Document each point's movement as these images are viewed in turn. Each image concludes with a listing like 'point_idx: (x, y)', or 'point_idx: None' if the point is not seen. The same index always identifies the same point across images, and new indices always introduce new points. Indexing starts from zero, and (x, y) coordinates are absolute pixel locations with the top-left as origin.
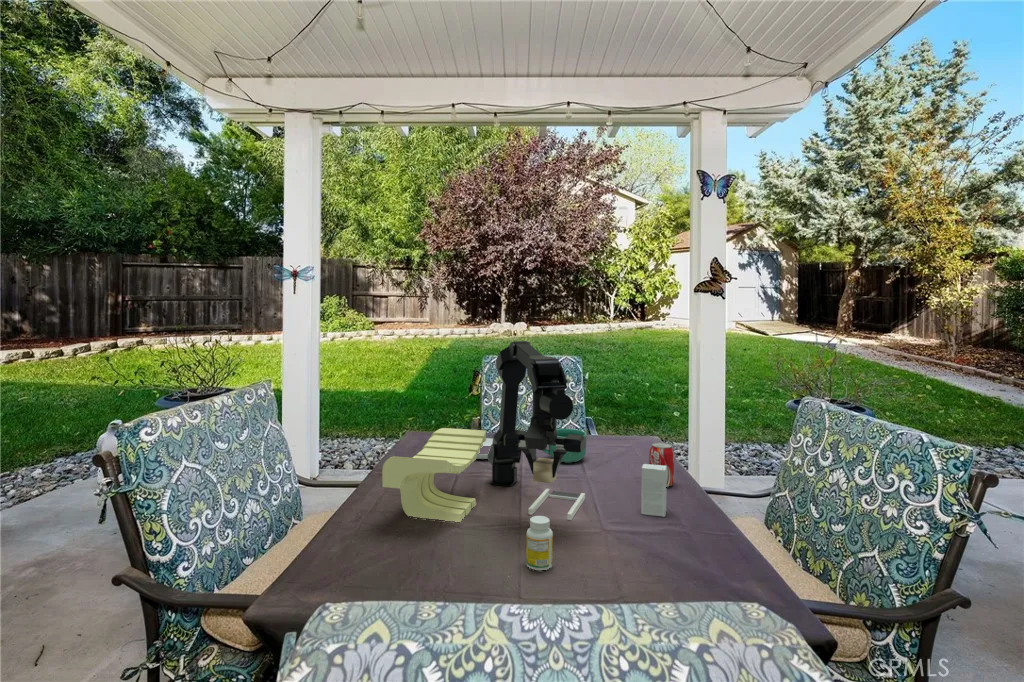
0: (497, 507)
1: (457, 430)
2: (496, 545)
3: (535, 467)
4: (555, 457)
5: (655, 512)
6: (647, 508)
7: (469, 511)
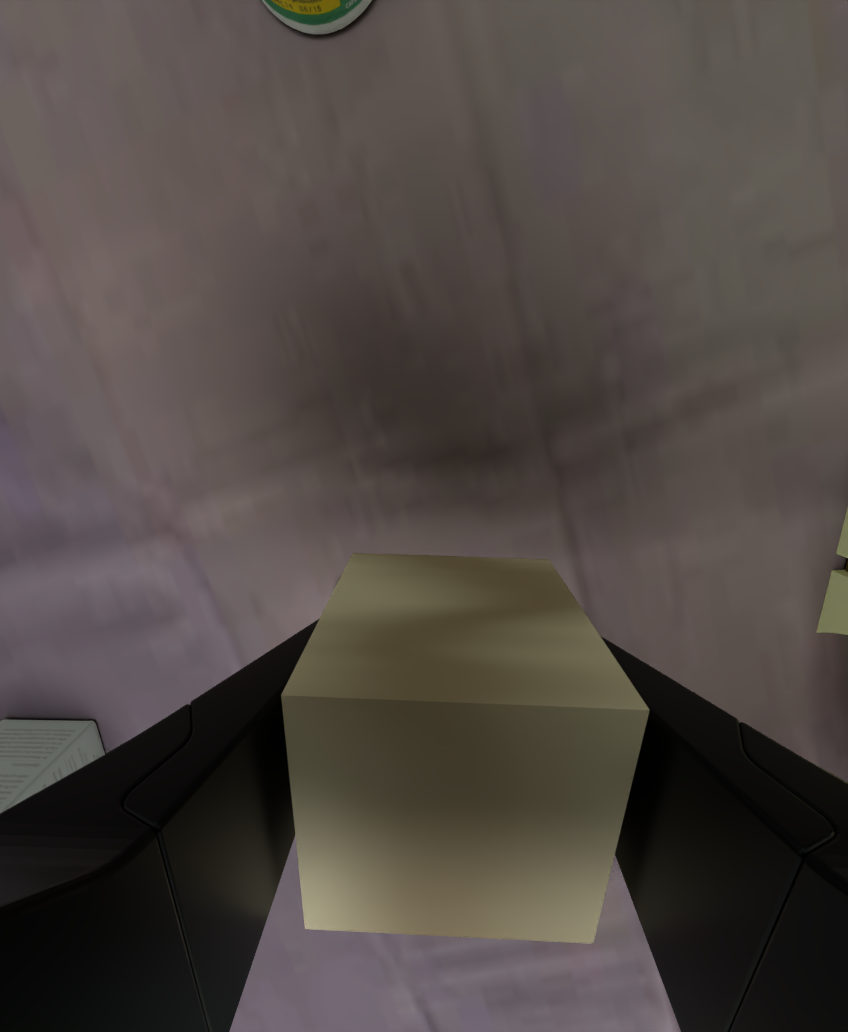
0: (704, 623)
1: None
2: (620, 146)
3: (573, 649)
4: (85, 848)
5: (26, 730)
6: (45, 741)
7: (844, 533)
